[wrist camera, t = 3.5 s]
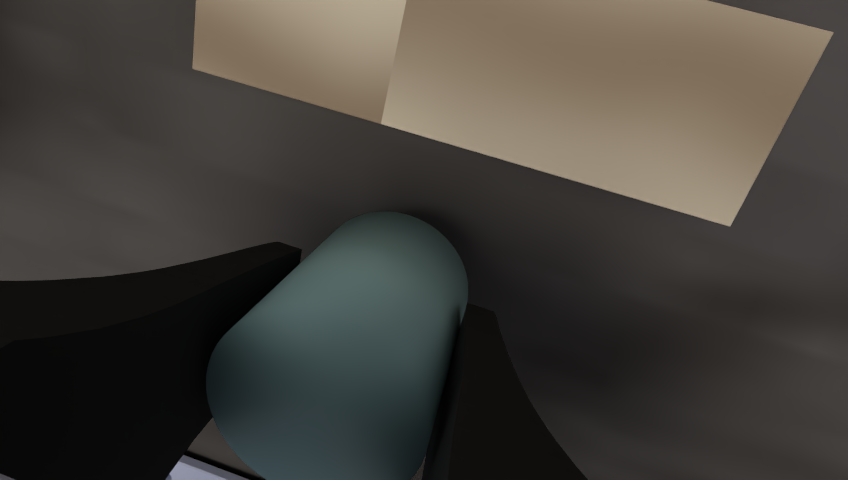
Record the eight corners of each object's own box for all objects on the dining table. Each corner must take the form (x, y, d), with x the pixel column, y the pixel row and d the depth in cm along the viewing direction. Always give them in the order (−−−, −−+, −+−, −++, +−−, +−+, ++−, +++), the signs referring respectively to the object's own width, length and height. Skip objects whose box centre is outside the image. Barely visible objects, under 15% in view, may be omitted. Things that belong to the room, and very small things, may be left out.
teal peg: (445, 371, 14) (399, 533, 9) (307, 324, 14) (199, 458, 10) (488, 239, 12) (457, 358, 8) (331, 191, 13) (214, 277, 8)
